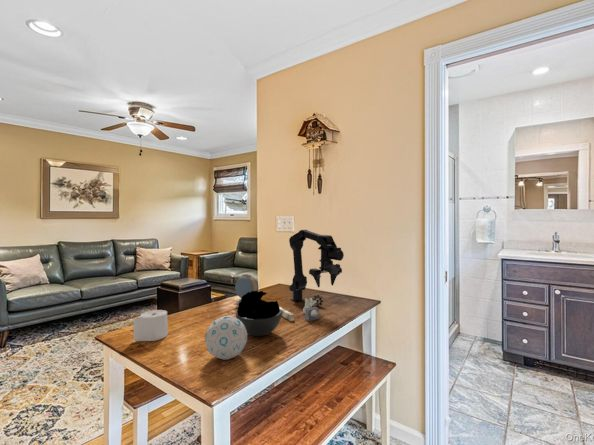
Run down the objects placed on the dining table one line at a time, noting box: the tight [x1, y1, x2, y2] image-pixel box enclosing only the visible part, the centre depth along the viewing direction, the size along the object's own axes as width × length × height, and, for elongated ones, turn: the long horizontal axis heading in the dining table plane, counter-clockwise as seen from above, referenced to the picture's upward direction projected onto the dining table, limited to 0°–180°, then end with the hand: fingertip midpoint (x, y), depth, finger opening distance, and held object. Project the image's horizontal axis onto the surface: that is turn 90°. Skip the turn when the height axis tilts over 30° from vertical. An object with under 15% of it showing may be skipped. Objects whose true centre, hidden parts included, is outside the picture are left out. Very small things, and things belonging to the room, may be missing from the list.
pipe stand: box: [302, 305, 320, 322], centre depth 153 cm, size 8×6×6 cm
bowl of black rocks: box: [235, 290, 283, 337], centre depth 133 cm, size 20×20×19 cm
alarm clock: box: [233, 273, 259, 306], centre depth 179 cm, size 14×10×18 cm
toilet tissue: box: [132, 309, 168, 342], centre depth 131 cm, size 11×12×10 cm
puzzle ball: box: [204, 315, 248, 361], centre depth 112 cm, size 15×15×15 cm
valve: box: [304, 294, 324, 308], centre depth 170 cm, size 7×7×12 cm
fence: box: [279, 306, 295, 322], centre depth 158 cm, size 18×2×3 cm, turn 32°
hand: (325, 286), depth 168 cm, fingers open, 9 cm apart
